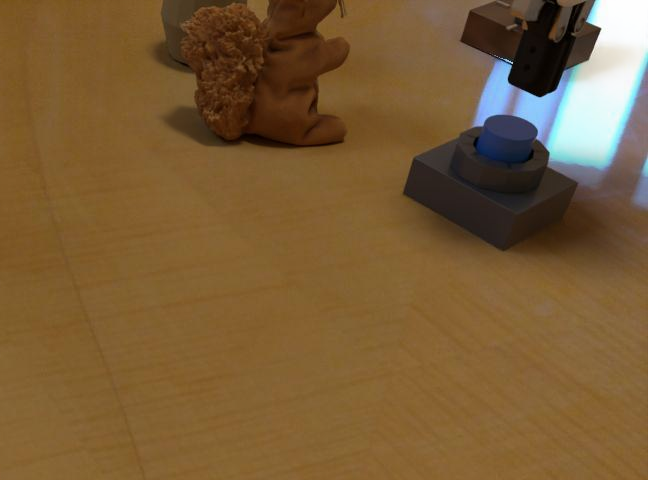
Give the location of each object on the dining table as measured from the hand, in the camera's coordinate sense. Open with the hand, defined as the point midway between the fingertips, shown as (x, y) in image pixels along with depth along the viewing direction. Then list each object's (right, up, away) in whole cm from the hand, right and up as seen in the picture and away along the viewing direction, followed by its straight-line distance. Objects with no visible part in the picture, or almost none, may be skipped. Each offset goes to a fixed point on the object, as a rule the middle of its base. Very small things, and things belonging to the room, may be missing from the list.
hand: (530, 87), depth 73 cm
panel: (+11, +16, +27) cm, 34 cm away
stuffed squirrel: (-18, +3, +14) cm, 23 cm away
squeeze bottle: (-22, +13, +23) cm, 35 cm away
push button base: (-1, -6, +7) cm, 10 cm away
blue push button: (-1, -3, +4) cm, 5 cm away
